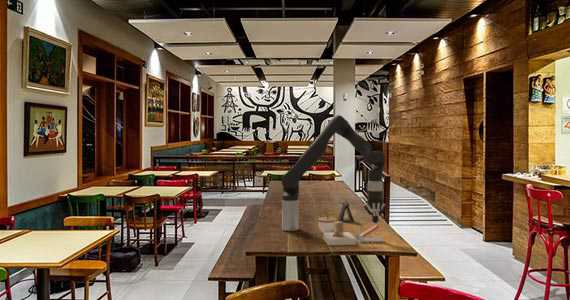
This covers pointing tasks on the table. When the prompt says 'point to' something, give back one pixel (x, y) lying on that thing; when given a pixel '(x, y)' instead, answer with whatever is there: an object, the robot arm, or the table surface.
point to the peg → (338, 229)
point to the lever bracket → (367, 239)
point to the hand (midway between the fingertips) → (375, 222)
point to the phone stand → (344, 213)
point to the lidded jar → (326, 224)
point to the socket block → (339, 239)
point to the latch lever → (369, 231)
